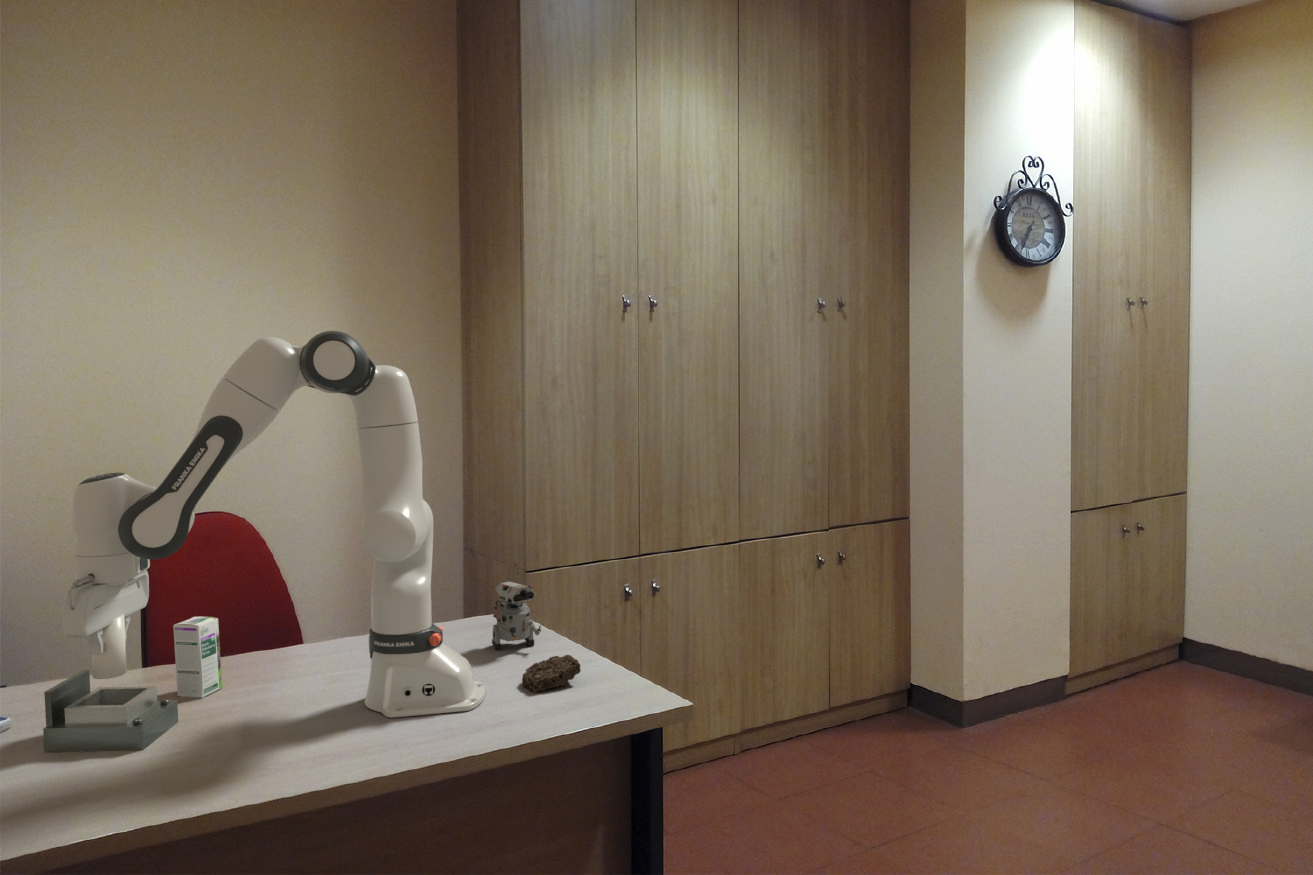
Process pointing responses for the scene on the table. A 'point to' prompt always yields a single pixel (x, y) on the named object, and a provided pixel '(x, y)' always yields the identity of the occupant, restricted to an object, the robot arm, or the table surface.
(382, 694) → the robot arm
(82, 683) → the bolted metal fixture
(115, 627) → the white rounded piece
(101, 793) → the table surface
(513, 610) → the figurine
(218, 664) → the syrup box
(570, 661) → the brown porous lump
